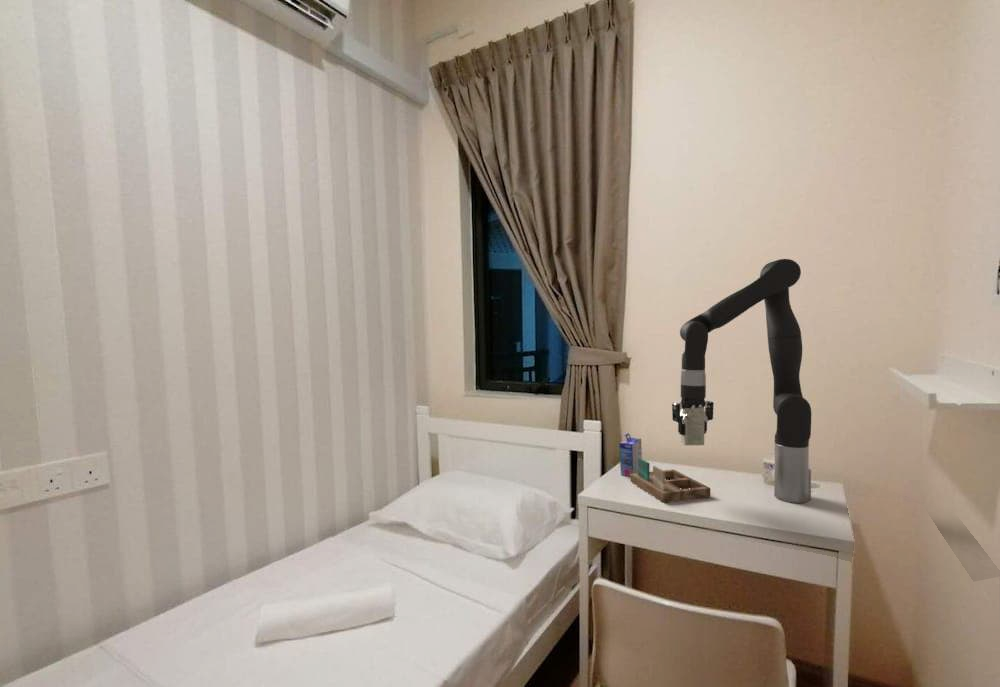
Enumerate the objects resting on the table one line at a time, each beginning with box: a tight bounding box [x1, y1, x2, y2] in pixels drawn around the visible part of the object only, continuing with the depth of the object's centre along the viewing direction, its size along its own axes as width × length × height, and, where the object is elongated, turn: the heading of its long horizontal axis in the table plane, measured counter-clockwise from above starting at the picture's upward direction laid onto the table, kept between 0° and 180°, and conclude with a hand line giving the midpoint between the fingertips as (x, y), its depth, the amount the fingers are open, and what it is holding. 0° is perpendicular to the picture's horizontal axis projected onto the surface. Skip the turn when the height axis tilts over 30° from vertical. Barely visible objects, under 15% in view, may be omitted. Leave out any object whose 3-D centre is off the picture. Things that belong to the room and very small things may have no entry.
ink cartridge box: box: [619, 433, 643, 477], centre depth 183 cm, size 10×6×14 cm, turn 146°
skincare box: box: [680, 407, 705, 446], centre depth 158 cm, size 6×4×12 cm
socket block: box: [630, 458, 711, 503], centre depth 164 cm, size 17×20×9 cm
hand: (692, 434), depth 158 cm, fingers closed on skincare box, 7 cm apart
